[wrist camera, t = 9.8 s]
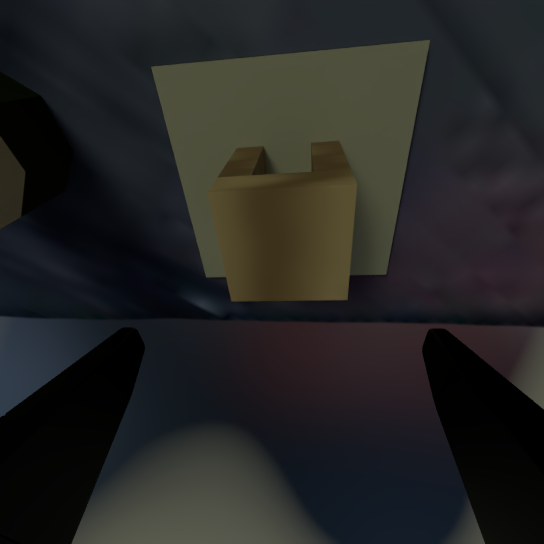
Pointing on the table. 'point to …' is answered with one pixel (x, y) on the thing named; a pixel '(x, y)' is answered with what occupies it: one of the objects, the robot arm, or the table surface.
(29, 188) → the wine bottle
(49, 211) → the table surface
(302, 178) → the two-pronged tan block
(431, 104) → the table surface
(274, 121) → the mat
